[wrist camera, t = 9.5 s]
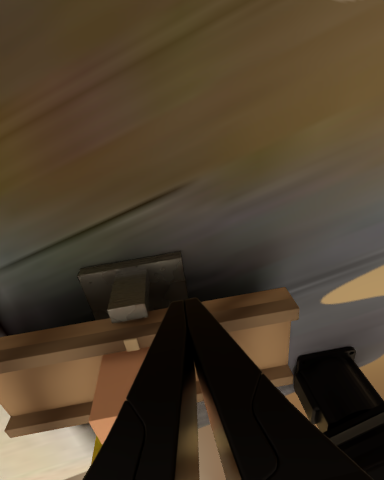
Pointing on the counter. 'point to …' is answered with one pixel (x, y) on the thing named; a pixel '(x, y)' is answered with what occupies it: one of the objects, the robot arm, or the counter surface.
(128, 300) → the pivot stand
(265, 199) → the counter surface
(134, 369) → the rider block
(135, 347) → the brown tray
